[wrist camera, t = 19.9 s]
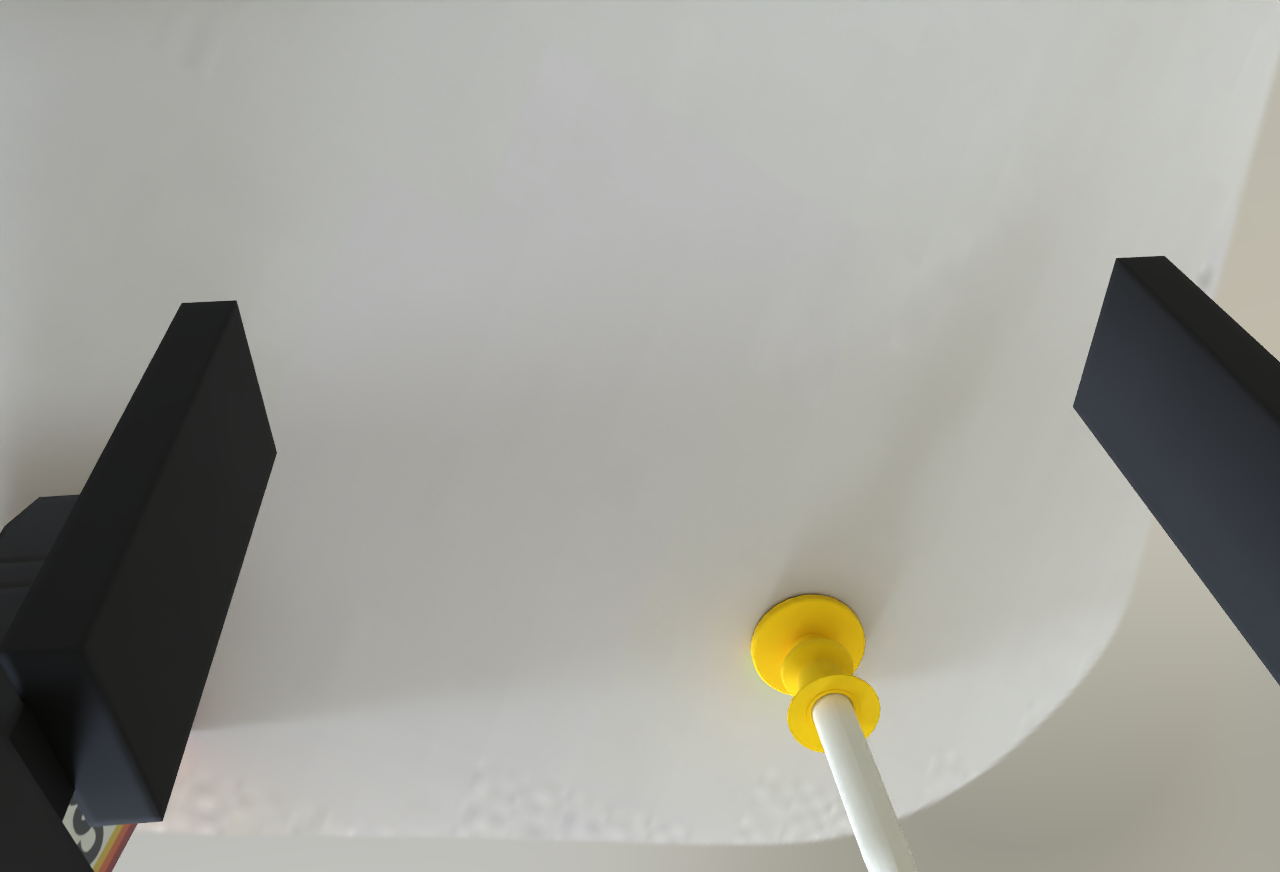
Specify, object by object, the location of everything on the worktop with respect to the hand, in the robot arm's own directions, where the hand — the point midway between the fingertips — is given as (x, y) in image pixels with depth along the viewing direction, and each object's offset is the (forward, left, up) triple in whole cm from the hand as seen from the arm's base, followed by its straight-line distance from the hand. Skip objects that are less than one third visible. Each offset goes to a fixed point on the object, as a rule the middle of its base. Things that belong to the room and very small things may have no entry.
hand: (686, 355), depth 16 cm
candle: (+19, -14, -26) cm, 35 cm away
